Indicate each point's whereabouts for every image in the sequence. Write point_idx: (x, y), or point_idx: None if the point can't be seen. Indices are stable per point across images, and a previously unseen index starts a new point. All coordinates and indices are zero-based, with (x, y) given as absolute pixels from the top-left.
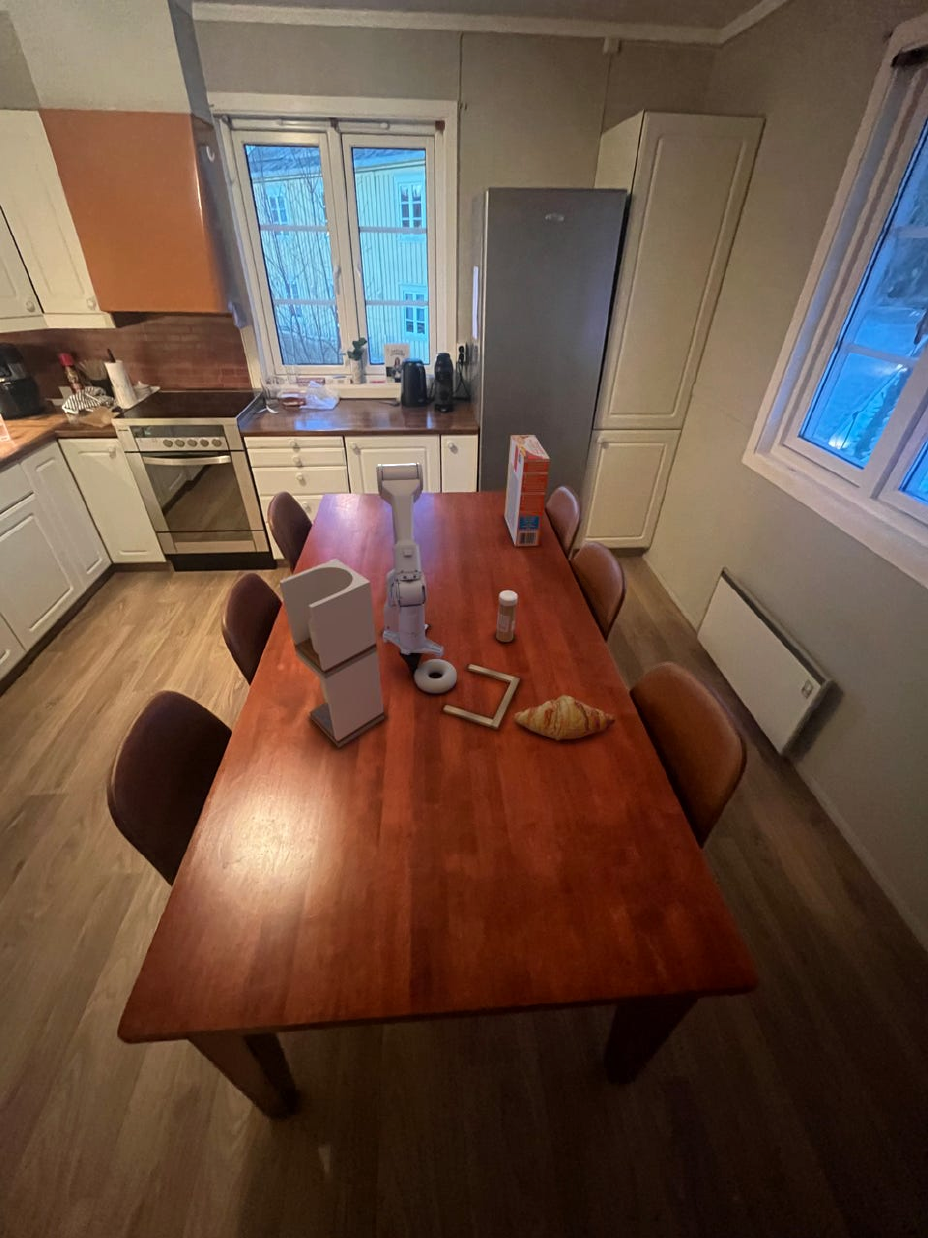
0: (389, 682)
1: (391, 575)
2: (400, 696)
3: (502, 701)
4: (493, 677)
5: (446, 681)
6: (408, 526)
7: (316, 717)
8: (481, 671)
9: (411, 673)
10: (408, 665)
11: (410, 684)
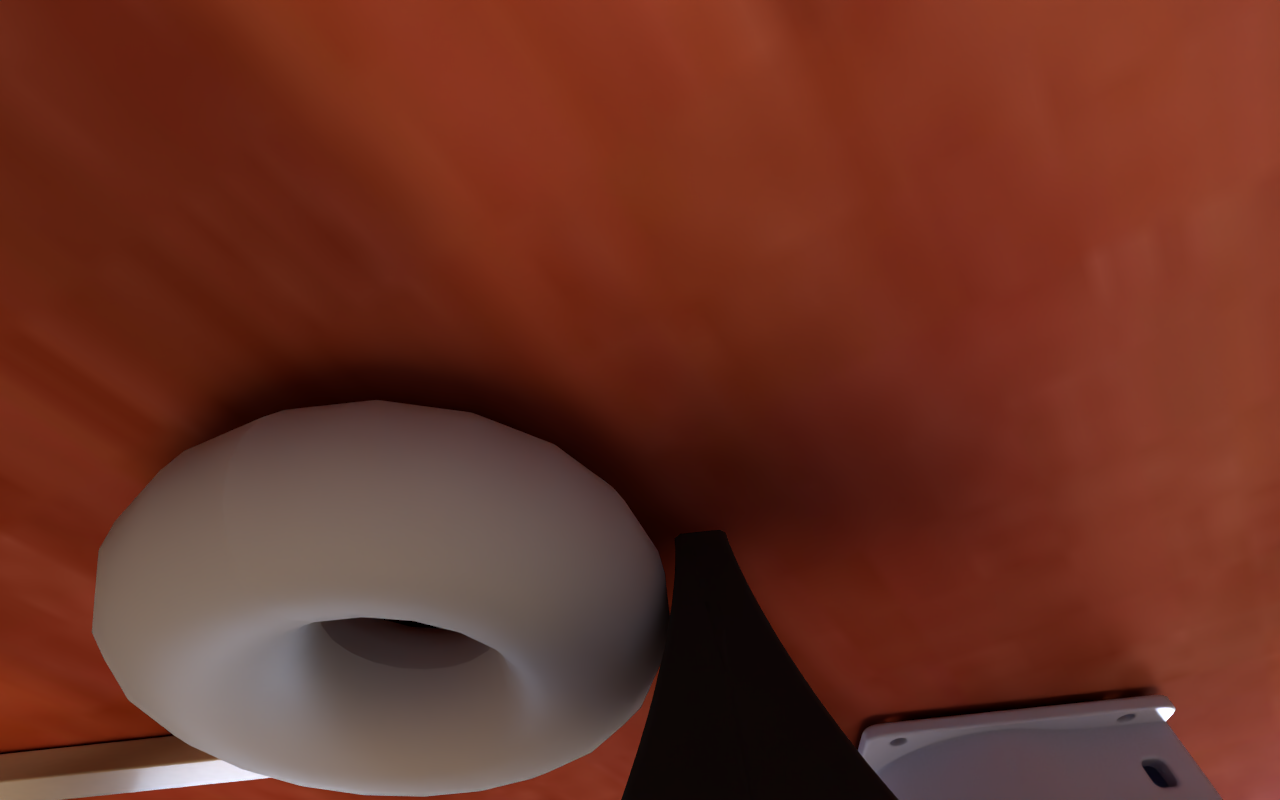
0: (923, 304)
1: None
2: (634, 151)
3: None
4: (85, 748)
5: (114, 660)
6: None
7: None
8: (179, 765)
9: (706, 532)
10: (758, 661)
11: (643, 404)
